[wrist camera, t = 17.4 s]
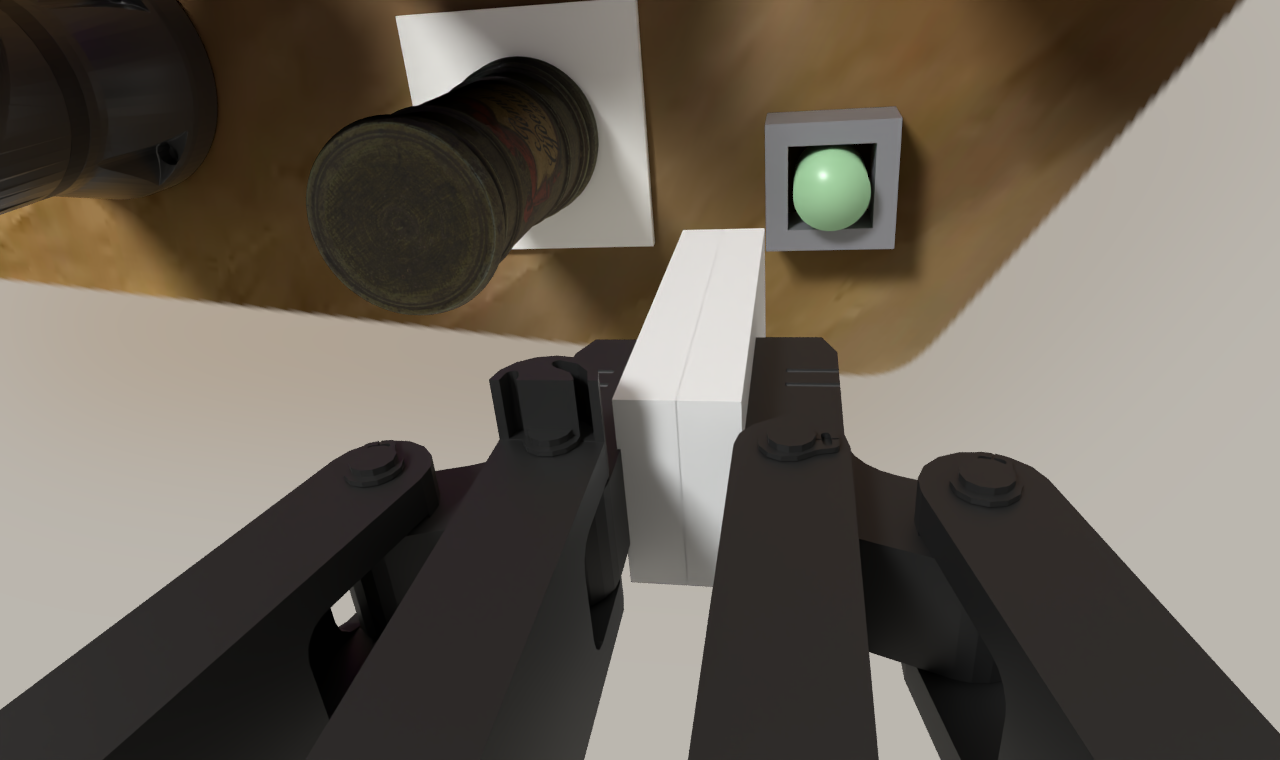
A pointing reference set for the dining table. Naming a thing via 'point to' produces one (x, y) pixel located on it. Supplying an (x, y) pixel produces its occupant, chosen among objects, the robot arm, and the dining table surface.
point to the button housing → (833, 130)
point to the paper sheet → (601, 67)
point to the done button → (831, 186)
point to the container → (450, 184)
